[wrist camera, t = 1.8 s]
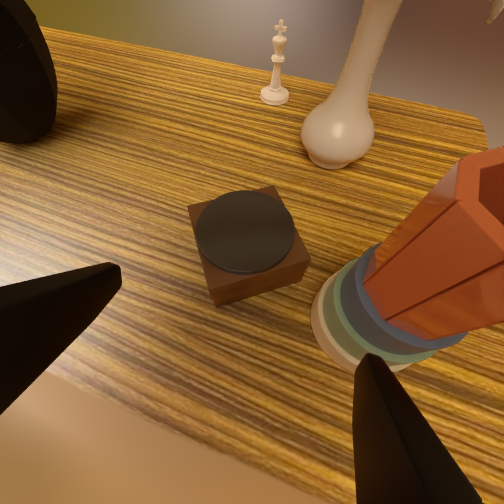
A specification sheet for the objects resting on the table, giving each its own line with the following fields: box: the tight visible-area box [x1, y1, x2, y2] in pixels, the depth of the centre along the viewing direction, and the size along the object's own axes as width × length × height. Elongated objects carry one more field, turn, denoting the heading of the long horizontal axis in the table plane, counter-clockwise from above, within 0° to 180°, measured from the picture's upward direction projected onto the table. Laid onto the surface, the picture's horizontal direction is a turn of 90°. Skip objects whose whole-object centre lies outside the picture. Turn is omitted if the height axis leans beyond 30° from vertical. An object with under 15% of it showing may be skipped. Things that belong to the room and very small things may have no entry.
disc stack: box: [310, 242, 469, 372], centre depth 19 cm, size 9×9×9 cm
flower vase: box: [300, 0, 504, 170], centre depth 24 cm, size 13×18×25 cm
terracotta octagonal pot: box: [363, 146, 504, 341], centre depth 12 cm, size 6×6×8 cm
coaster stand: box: [187, 185, 311, 308], centre depth 24 cm, size 9×9×6 cm
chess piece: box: [260, 20, 289, 105], centre depth 37 cm, size 5×5×10 cm
